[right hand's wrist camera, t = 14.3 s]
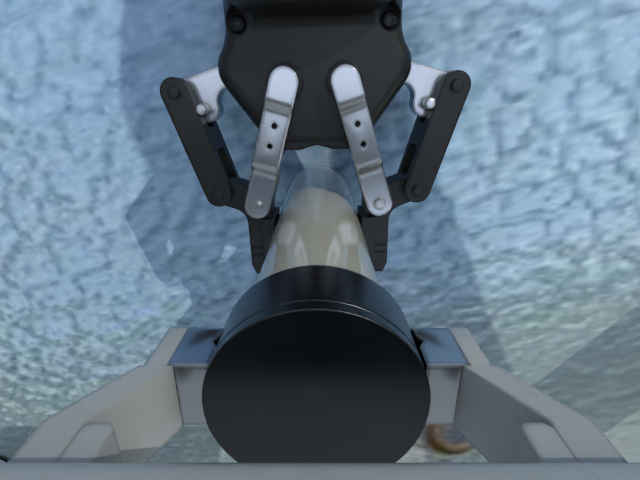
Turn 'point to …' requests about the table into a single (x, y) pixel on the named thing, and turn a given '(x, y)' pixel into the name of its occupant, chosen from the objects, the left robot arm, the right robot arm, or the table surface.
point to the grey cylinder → (318, 227)
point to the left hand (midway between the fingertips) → (320, 274)
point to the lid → (316, 372)
